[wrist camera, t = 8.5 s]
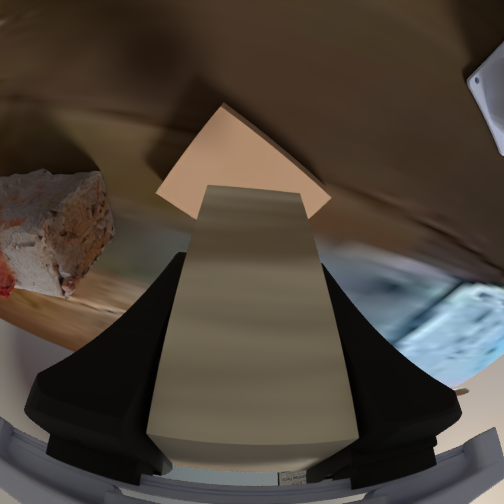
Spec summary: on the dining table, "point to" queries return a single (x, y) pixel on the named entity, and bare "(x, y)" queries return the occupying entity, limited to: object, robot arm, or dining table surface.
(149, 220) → the dining table surface
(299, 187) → the terracotta tile
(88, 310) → the dining table surface
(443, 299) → the dining table surface
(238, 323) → the beech stick
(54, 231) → the food item
